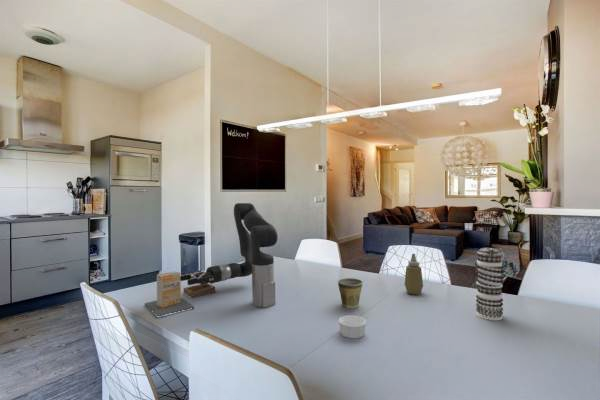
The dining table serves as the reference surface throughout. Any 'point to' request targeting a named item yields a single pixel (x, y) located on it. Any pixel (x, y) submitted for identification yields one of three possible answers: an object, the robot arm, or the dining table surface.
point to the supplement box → (168, 289)
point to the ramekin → (352, 326)
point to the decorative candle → (489, 284)
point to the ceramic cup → (350, 292)
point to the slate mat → (170, 309)
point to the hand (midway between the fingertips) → (184, 280)
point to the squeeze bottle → (413, 277)
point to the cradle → (199, 290)
